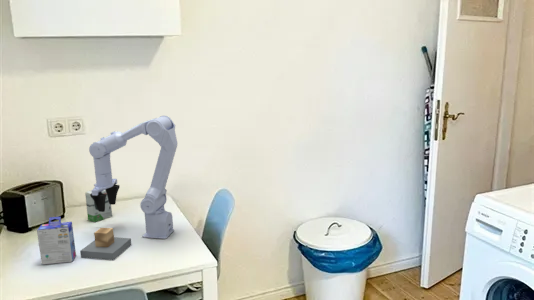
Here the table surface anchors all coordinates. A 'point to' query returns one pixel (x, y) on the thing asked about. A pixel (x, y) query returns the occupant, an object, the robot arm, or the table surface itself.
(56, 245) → the ink cartridge box
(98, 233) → the wooden block
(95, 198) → the robot arm
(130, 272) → the table surface
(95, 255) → the gray square plate
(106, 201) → the white cardboard box
